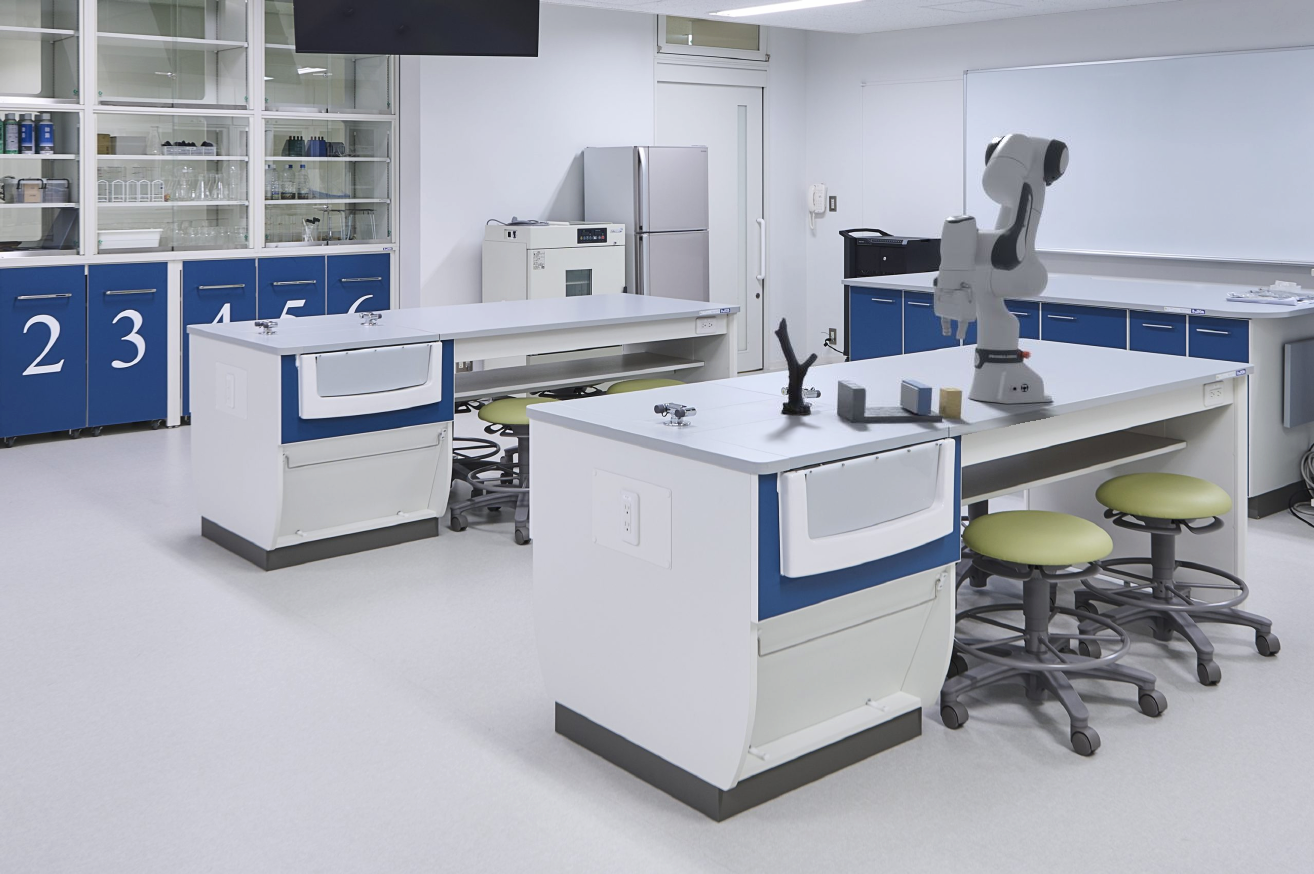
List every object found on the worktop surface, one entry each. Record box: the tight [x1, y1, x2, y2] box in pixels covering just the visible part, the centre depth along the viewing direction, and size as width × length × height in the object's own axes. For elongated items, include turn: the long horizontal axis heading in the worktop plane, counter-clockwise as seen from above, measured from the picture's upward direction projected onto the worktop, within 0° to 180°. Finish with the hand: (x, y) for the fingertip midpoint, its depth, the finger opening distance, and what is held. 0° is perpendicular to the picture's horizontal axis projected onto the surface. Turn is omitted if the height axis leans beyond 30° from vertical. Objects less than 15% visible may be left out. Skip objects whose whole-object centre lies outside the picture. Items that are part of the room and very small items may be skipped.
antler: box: [774, 317, 819, 416], centre depth 306 cm, size 12×8×25 cm
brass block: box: [938, 387, 963, 419], centre depth 305 cm, size 4×5×7 cm
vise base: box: [836, 379, 943, 424], centre depth 303 cm, size 23×14×8 cm, turn 97°
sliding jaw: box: [899, 379, 933, 415], centre depth 304 cm, size 4×14×7 cm, turn 7°
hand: (953, 337), depth 302 cm, fingers open, 8 cm apart
